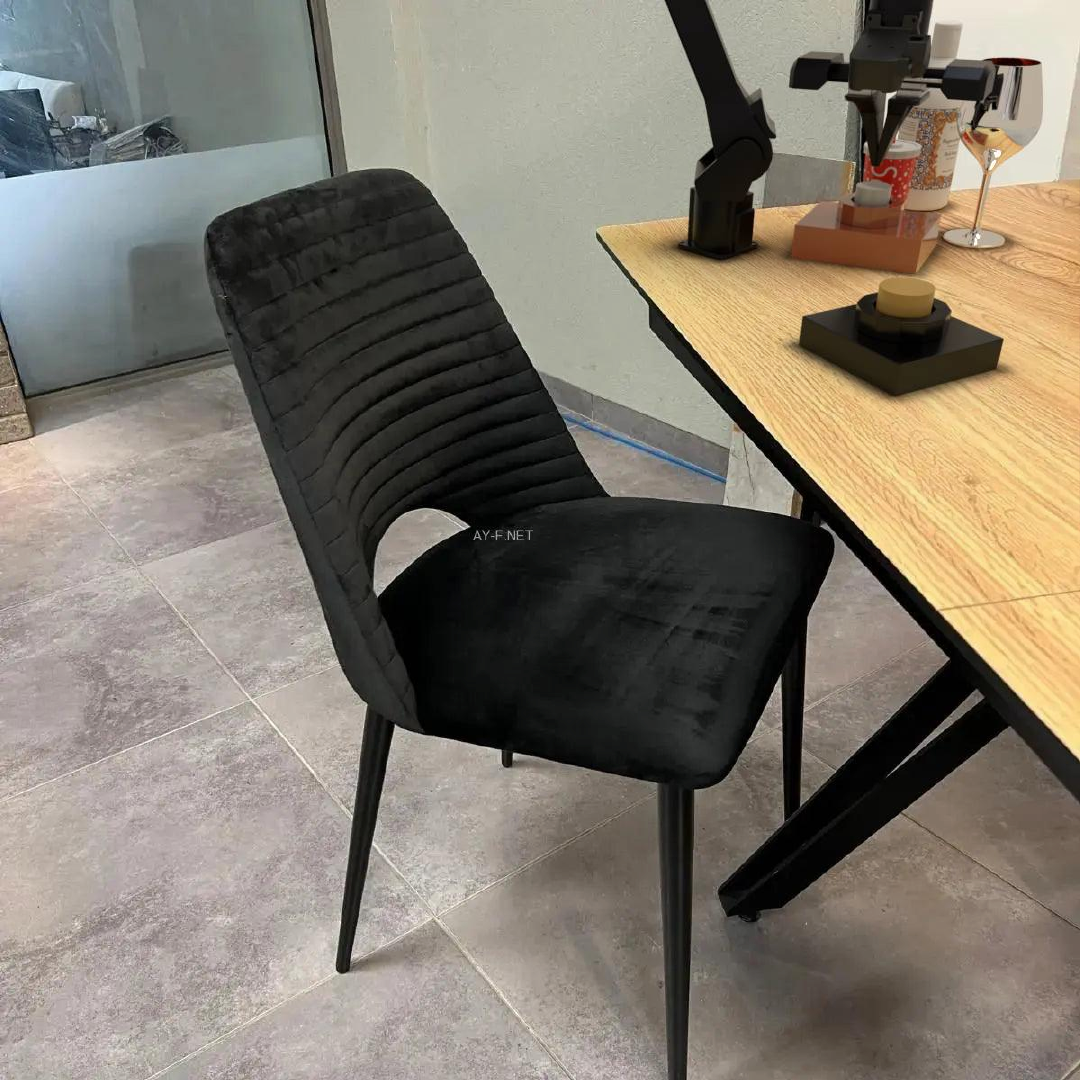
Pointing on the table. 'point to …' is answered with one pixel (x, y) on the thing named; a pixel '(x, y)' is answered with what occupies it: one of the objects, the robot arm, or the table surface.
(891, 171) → the beverage cup
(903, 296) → the yellow cylinder
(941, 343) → the black push button base
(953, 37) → the bath foam
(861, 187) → the white cylinder
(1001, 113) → the wineglass
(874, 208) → the button housing
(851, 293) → the table surface
